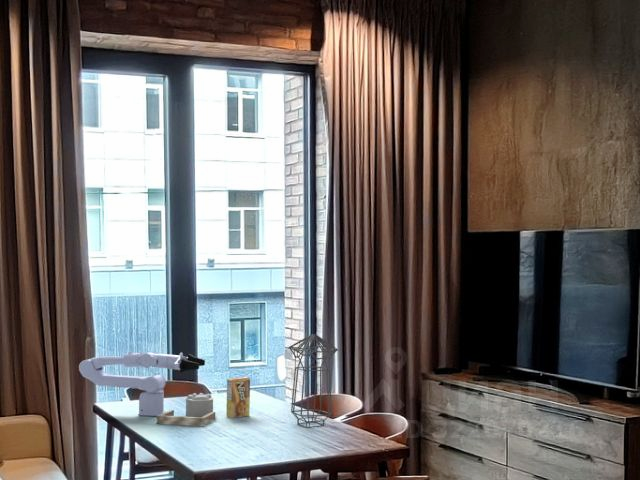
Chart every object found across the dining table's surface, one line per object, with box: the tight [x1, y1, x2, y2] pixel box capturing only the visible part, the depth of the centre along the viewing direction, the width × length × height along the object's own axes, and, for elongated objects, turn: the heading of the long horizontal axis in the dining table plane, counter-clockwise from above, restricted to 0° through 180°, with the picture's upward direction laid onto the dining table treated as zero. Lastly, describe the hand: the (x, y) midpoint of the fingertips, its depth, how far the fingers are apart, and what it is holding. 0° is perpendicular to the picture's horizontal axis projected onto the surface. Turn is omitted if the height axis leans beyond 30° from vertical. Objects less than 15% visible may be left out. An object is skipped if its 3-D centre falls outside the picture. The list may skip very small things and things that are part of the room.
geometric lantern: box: [287, 333, 340, 429], centre depth 337 cm, size 16×16×35 cm
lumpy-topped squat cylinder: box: [185, 392, 214, 417], centre depth 354 cm, size 10×13×9 cm
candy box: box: [225, 376, 251, 419], centre depth 353 cm, size 9×4×15 cm, turn 129°
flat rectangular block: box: [156, 409, 216, 427], centre depth 341 cm, size 19×14×3 cm
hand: (201, 364), depth 352 cm, fingers open, 7 cm apart
